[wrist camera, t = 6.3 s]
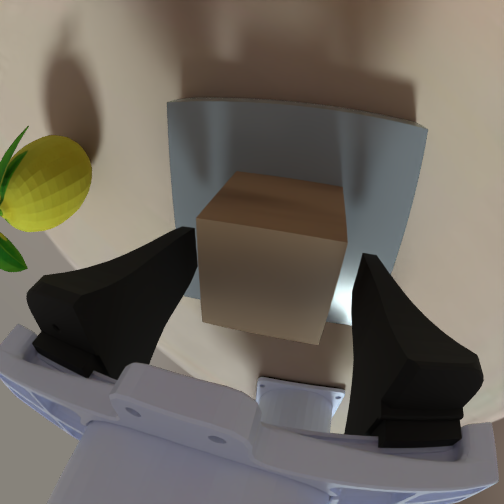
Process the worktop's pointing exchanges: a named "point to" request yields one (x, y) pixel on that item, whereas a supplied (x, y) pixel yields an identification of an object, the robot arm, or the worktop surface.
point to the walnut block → (271, 255)
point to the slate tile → (301, 167)
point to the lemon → (40, 188)
